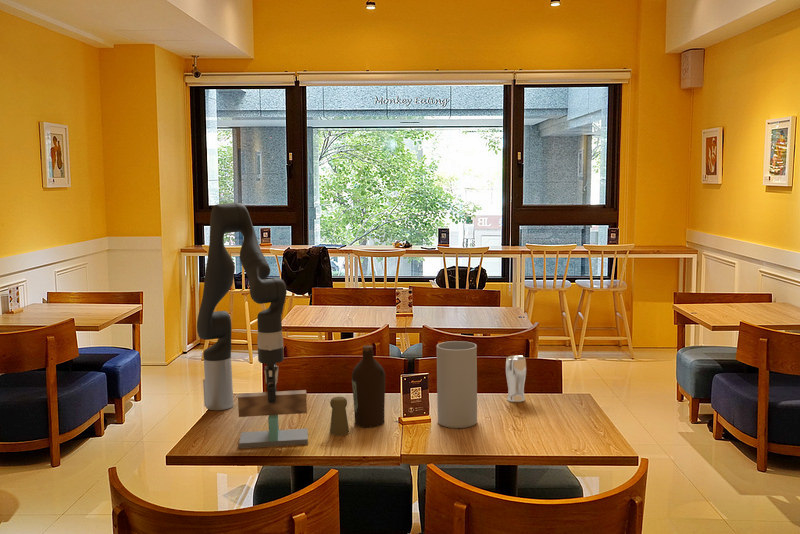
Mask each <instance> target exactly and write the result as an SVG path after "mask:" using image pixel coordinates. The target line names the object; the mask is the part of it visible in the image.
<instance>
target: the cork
mask: <svg viewBox="0 0 800 534" xmlns="http://www.w3.org/2000/svg"><path fill="white" fill-rule="evenodd" d="M329 403H330V407H331V418H330V426H329V434H330V435H333V436H344V434H345V435H347V433H348V432H349V433H350V428H349V423H348V422H349V421H348V415H347V410H346V408H347V406H348V399H346V397H345V396H333V397H332V398H331V399H330V402H329ZM349 433H348V434H349Z"/></svg>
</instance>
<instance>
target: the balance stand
mask: <svg viewBox="0 0 800 534" xmlns="http://www.w3.org/2000/svg"><path fill="white" fill-rule="evenodd" d="M267 417H268V422H267V424H268V430H259V431H242V432H241V433H240V438H239V441H238V442H239V443H238V448H239V449H250V448H251V449H252V448H267V447H284V446H301V445H308V444H309V436H308V434H309V433H308V428H295V429H294V428H292V429H279V415H268V416H267Z"/></svg>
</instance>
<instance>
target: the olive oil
mask: <svg viewBox="0 0 800 534" xmlns="http://www.w3.org/2000/svg"><path fill="white" fill-rule="evenodd" d="M373 348H374V346H373V345H369V344H367V345H363V346H362V358H361V359H360V361H358V363H357V364H356V365H355V366H354V368H353V370H352V373H351V385H352V387H351V388H352V397H353V398H352V399H353V411H354V423H355V425H356V426H357V427H360V426H361V427H362V428H375V427H380V426H383V425H384V424H385V402H386V401H385V397H386V373H385V369H384V367H383V366H382V365H381V364H380V363H379V362H378V361H377V360H376V359H375V358H374V350H373ZM361 427H360V428H361Z"/></svg>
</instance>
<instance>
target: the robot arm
mask: <svg viewBox="0 0 800 534" xmlns="http://www.w3.org/2000/svg"><path fill="white" fill-rule="evenodd" d="M210 212H211V213H210V219H209V220H210V221H209V222H210V223H209V243H208V244H209V245H208V253H207V259H206V260H207V261H206V265H205V272H204V273H205V274H204V281H203V282H204V283H203V290H202V291H203V292H202V298H201V302H200V306H199V307H200V308H199V310H198V311H199V312H198V315H197V321H196V333H197V335H198V337H199V339H201V340H203V341H204V340H205V341H208V340H215V339H216V340H217V341H216V342H215V343H214V344H213V345H211V346H209V347H208V348H205V349H204V351H203V355H202V358H203V370H204V372H203V374H204V376H203V377H204V379H202V383H203V384H202V386H203V402H204V403H203V404H204V406H203V407H205V408H206V409H207V410H209V411H223V410H229V409H232V407H233V406H234V390H233V387H234V386H233V371H232V370H233V368H232V321H231V320H232V319H231V316H230V313H229V312H228V311H226V310H218V311H215V309H216V307H217V306H218V304H219V303H220V302H221V301H222V300H223V298H224V297H225V296H226V295H227V294H228V292H229V291H230V290H231V288H232V286H233V284H234V280H235V279H234V277H235V272H236V265H235V262H234V260H233V258H232V256H231V255H230V254H229V252H228V250H227V248H226V246H225V244H224V236H225V234H227V233H229V234H230V233H238V232H239V233H241V235H242V237H243V239H242V242H241V243H242V244H241V248H240V252H239V260H240V264H241V267H242V268H243V270H244V272H245V274H246V277H247V280H248V285H249V295H250V299H252V301H254V303H256V304H258V305H259V304H260V305H262V304H268V303H269V304H270V305H269V307H267V308H266V309H263V310H261V311H259V312H258V313H257V317H256V318H257V319H256V321H257V338H256V339H257V341H256V342H257V360H258V363H260V364H264V365H266V366H264V375H265V379H264V380H265V382H264V383H265V384H266V392H268V403H275V402H276V392H278V390H277V383H278V377H279V365H277V364H279V363H282V362H283V361H284V359H285V356H284V355H285V353H284V335H283V329H282V328H283V325H282V316H283V310H284V306H285V303H286V298H287V285H286V283H285V281H284V280H283V279H282V278H281V277H280V278H279V277H274V278H268V277H269V276H270V275H271V274H270V273H271V268H270V265H269V263H268V261H267V259H266V257H265V256H264V253H263V252H262V249H261V247H260V245H259V242H258V239H257V235H256V232H255V228H254V225H253V222H252V219H251V216H250V213H249V211H248V209H247V207H246V205H245V204H243V203H242V202H231V203H229V202H227V203H218V204H215V205H214V206H213V207H212V209H211V211H210Z"/></svg>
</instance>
